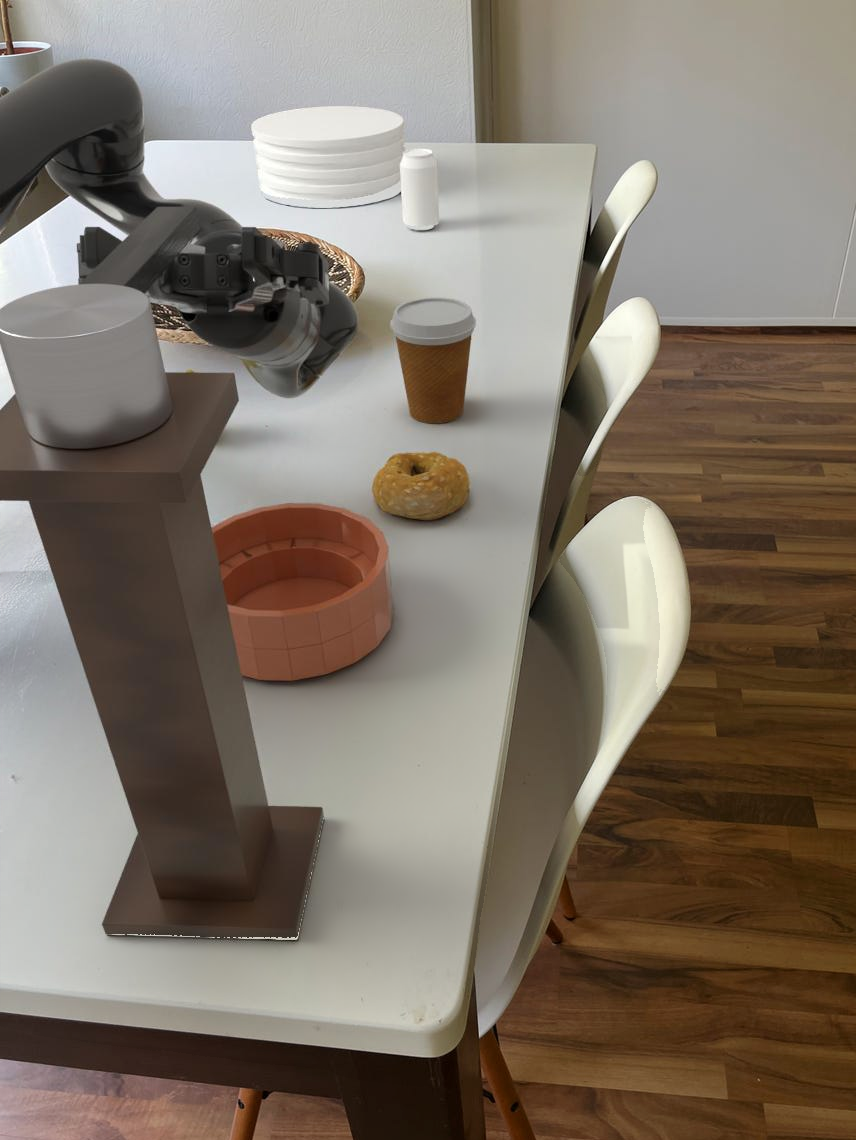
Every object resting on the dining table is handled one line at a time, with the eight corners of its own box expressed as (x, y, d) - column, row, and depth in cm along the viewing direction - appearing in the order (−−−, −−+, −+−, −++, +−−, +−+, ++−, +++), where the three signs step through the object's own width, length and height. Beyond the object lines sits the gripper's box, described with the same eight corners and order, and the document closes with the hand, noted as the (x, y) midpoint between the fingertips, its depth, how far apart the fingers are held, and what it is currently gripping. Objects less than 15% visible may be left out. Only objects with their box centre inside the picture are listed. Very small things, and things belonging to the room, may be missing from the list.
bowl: (174, 684, 82) (156, 614, 77) (224, 567, 95) (211, 501, 90) (381, 688, 81) (374, 618, 77) (402, 569, 94) (397, 504, 90)
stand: (105, 936, 63) (-79, 469, 43) (153, 814, 71) (15, 370, 51) (298, 941, 63) (202, 472, 42) (324, 818, 70) (254, 372, 50)
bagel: (474, 473, 108) (473, 432, 105) (466, 529, 99) (465, 486, 96) (381, 471, 109) (377, 430, 106) (365, 526, 100) (361, 484, 97)
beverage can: (438, 232, 173) (435, 156, 166) (401, 233, 173) (397, 156, 166) (440, 221, 178) (437, 147, 170) (404, 222, 178) (400, 147, 171)
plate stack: (355, 161, 211) (350, 99, 204) (436, 189, 194) (433, 123, 187) (234, 185, 198) (224, 120, 191) (308, 218, 180) (300, 148, 173)
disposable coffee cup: (442, 438, 114) (439, 334, 107) (379, 415, 119) (371, 314, 112) (493, 407, 120) (493, 307, 113) (431, 387, 125) (426, 289, 117)
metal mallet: (3, 449, 44) (-34, 337, 41) (138, 293, 59) (118, 202, 56) (149, 450, 44) (122, 338, 41) (247, 293, 59) (233, 202, 56)
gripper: (350, 357, 71) (300, 318, 55) (149, 356, 72) (42, 317, 56) (349, 245, 70) (298, 172, 54) (145, 245, 71) (34, 172, 55)
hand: (168, 246), depth 55 cm, fingers open, 8 cm apart
